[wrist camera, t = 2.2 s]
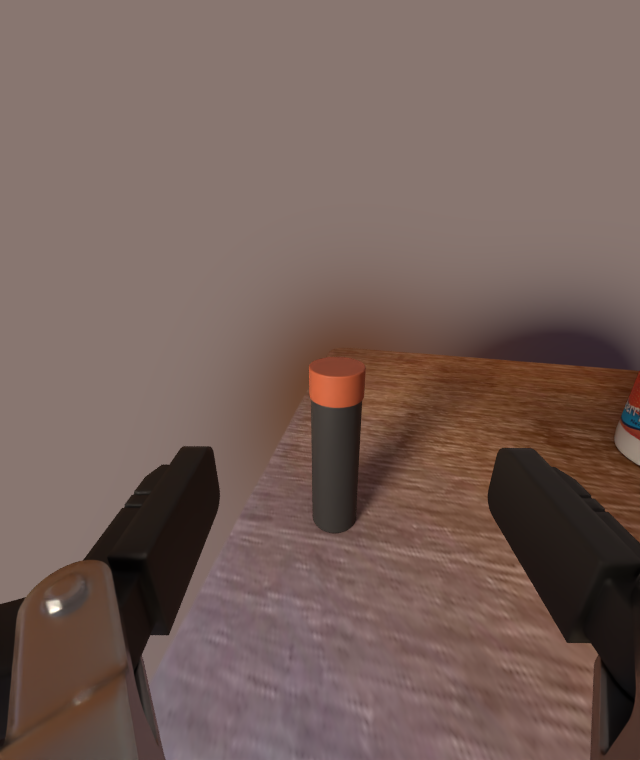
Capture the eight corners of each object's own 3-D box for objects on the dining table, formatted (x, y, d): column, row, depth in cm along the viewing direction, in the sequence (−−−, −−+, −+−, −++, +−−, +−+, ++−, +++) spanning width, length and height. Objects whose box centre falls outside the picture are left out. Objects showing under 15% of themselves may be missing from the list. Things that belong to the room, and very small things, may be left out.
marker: (308, 532, 24) (305, 375, 19) (314, 498, 27) (312, 355, 22) (357, 536, 23) (366, 378, 19) (357, 501, 27) (365, 357, 22)
